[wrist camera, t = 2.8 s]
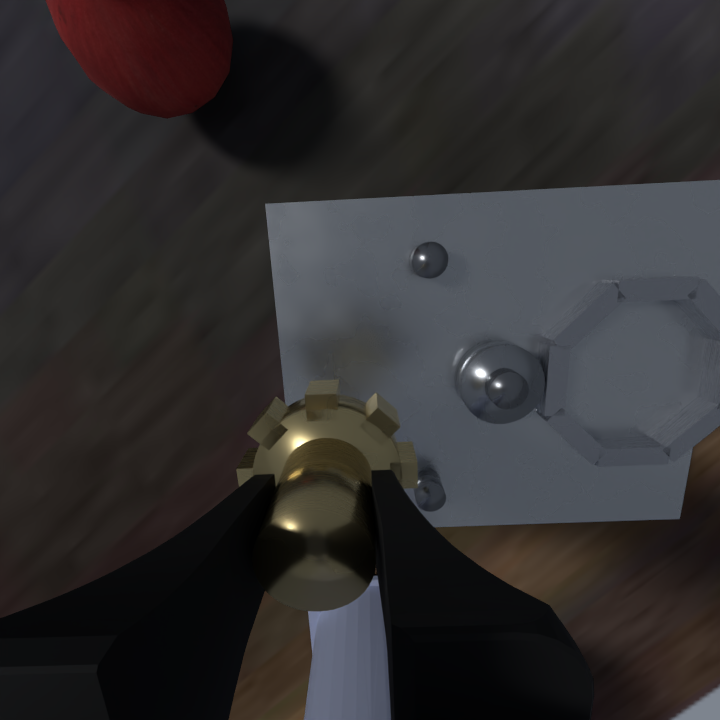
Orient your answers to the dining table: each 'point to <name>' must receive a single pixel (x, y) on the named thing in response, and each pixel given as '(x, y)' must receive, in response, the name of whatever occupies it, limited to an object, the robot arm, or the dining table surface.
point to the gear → (322, 493)
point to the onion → (150, 49)
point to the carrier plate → (516, 339)
